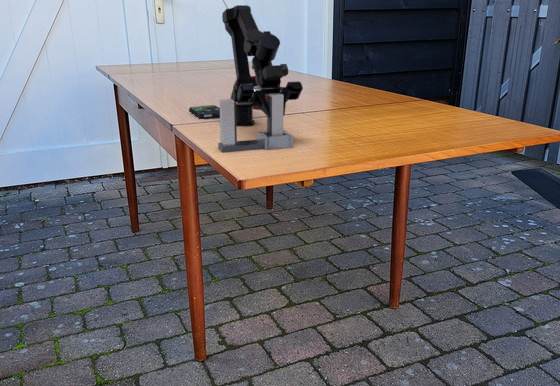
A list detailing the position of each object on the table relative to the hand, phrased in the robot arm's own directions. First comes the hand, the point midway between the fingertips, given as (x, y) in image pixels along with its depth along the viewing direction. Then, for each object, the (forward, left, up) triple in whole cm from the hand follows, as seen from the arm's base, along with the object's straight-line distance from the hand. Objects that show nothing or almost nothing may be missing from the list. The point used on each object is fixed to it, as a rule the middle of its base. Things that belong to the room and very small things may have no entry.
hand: (276, 116), depth 153 cm
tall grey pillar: (-1, -1, -7) cm, 7 cm away
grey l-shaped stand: (+1, -6, -9) cm, 11 cm away
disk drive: (-46, -27, -10) cm, 54 cm away
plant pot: (-63, -7, -9) cm, 64 cm away
